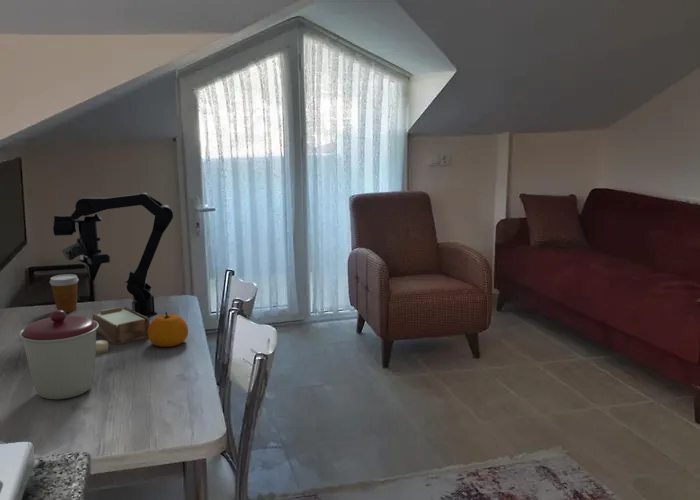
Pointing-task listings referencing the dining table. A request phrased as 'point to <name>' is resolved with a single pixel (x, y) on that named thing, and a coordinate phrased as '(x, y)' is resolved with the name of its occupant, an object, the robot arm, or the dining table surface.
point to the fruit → (167, 330)
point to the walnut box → (122, 329)
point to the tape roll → (101, 346)
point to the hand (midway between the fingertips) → (92, 280)
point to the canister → (61, 354)
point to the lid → (118, 316)
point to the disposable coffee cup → (65, 291)
